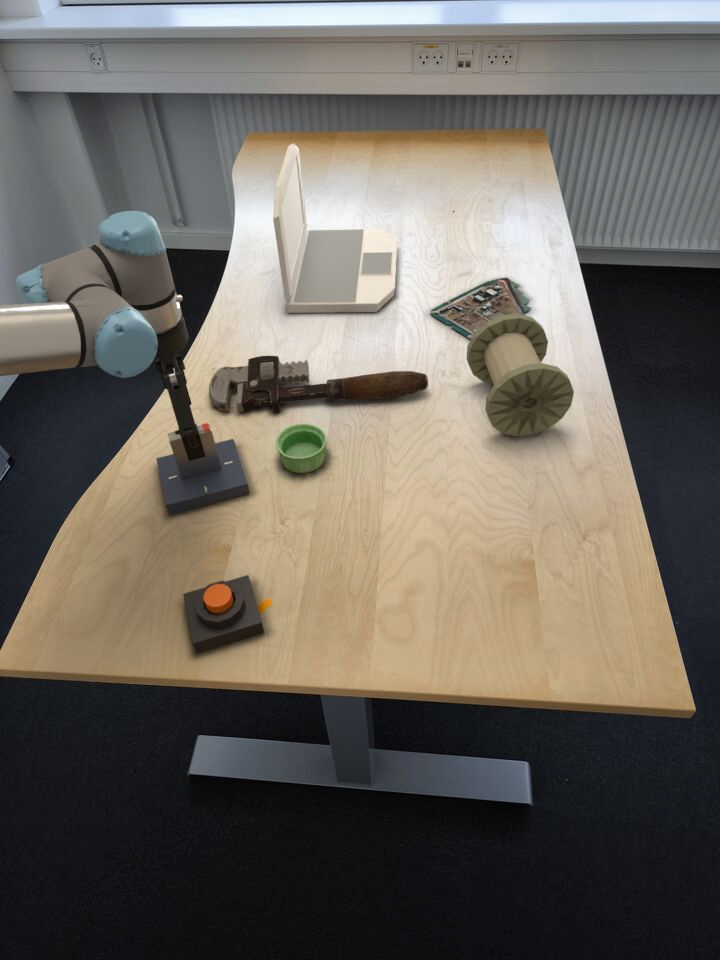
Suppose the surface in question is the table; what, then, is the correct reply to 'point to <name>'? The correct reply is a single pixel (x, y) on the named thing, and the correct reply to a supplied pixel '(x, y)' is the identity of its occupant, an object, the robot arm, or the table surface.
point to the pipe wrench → (268, 374)
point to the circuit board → (481, 306)
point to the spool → (518, 375)
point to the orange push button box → (223, 616)
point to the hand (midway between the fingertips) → (190, 430)
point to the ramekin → (302, 447)
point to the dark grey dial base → (203, 481)
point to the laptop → (328, 255)
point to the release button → (218, 598)
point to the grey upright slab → (198, 465)
